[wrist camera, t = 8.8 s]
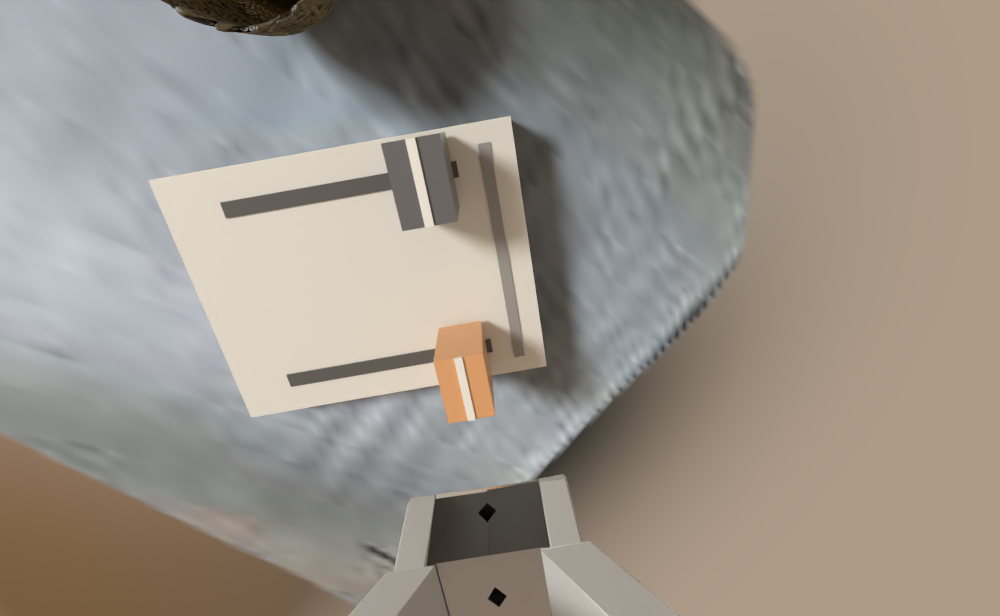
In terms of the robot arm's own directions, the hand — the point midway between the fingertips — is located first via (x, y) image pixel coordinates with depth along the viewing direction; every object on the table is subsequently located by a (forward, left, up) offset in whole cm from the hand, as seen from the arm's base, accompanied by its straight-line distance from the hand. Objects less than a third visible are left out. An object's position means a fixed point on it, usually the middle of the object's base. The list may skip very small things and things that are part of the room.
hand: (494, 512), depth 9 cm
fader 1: (-5, -2, -17) cm, 18 cm away
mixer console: (0, -6, -21) cm, 21 cm away
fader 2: (+5, -2, -17) cm, 18 cm away
